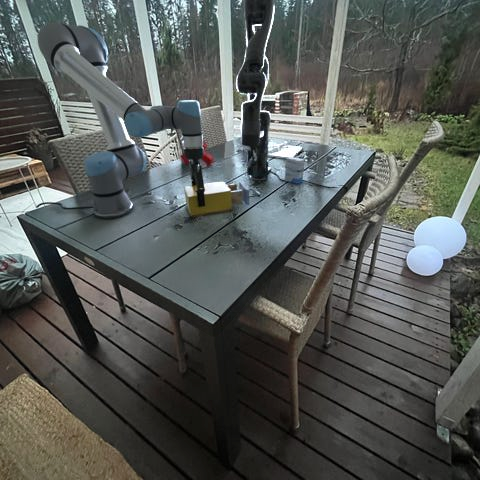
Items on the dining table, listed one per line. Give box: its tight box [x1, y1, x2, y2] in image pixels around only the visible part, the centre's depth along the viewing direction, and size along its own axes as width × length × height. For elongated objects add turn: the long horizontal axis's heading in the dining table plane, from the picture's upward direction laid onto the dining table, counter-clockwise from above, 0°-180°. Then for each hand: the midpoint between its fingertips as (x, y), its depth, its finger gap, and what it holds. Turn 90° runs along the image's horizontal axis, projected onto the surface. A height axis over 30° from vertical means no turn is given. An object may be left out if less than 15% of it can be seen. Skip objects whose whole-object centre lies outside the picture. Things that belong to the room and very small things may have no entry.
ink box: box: [284, 156, 306, 185], centre depth 140 cm, size 8×5×12 cm, turn 47°
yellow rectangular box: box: [183, 180, 233, 218], centre depth 114 cm, size 17×11×9 cm, turn 108°
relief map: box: [268, 138, 304, 160], centre depth 192 cm, size 27×35×5 cm
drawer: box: [226, 181, 262, 207], centre depth 117 cm, size 22×10×7 cm, turn 108°
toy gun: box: [180, 139, 215, 167], centre depth 167 cm, size 18×4×15 cm
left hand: (198, 200), depth 113 cm, fingers closed on yellow rectangular box, 11 cm apart
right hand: (250, 174), depth 115 cm, fingers closed
